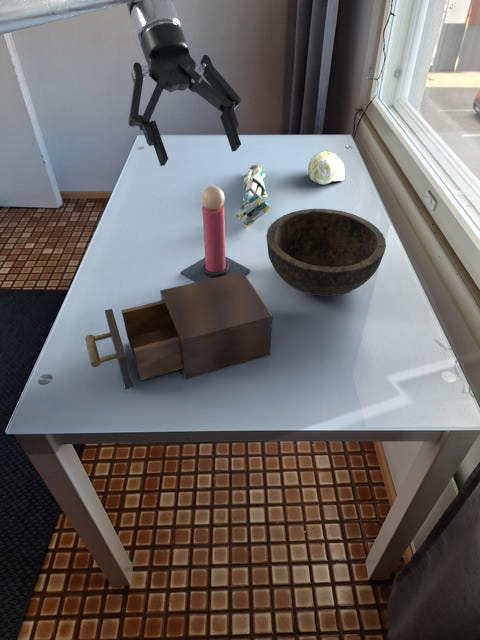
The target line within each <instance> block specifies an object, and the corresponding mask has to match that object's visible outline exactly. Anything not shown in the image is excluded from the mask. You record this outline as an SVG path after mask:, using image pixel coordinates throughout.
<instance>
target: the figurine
mask: <svg viewBox="0 0 480 640" xmlns="http://www.w3.org/2000/svg"><path fill="white" fill-rule="evenodd" d="M265 178H266V172H265V171H263V166H261V164H252V165H250V166H249V169H248V172H247V173H246V174H245V176H244V178H243V182H244V184H245V186H244V187H245V195H244V197H243V198H242V205H241V206H240V208H239V210H238V212H237V213H236V214H235V217H236V218H237V220H241V219H243V218H245V216H246V218H245V219H244V220H243V222H242V224H243V225H244V226H245V228H249V227H250V226H251V225H252V224H254V222H256V221H257V220H259V218H262V216H263V215H264V214H266V213H267V212H268V211H269V210H270V209H271V208H270V203H269V202H266V201H264V200H265V199H266V198H267V197H268V192H267V191H266V186H265V182H264V179H265Z"/></svg>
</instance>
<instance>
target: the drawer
mask: <svg viewBox="0 0 480 640" xmlns="http://www.w3.org/2000/svg"><path fill="white" fill-rule="evenodd" d="M104 314H105V318H106V322H107V326H108V330H109V332H105V333H102V334H98V335H93V334H87V335H86V336H85V338H84V339H85V340H84V341H85V345H86V348H87V353H88V358H89V363H90V367H92V368H99V366H101V364H102V363H106V362H110V361H113V360H117V363H118V367H119V371H120V375H121V378H122V382H123V386H124V390H129V389H132V388H134V385H133V380H132V375H131V371H130V366H129V362H128V359H127V354H126V351H125V347H124V344H123V341H122V338H121V334H120V330H119V327H118V324H117V321H116V317H115V314H114V310H113V308H109V309H105V310H104ZM121 316H122V320H123V324H124V328H125V333H126V338H127V342H128V346H129V348H130V351H131V354H132V357H133V361H134V364H135V367H136V370H137V373H138V377H139V380H140V381H143V380H147V379H150V378H153V377H154V378H155V377H157V376H161V375H164V374H167V373H172V372H176V371H178V370H182V368H184V367H183V358H182V350H181V341H180V338H179V336H178V334H177V331H176V329H175V327H174V324H173V322H172V320H171V317H170V315H169V313H168V310H167V308H166V306H165V303H164V301H163V300H162V301H161V300H157V301H154V302H149V303H146V304H141V305H138V306H133V307H130V308H125V309H121ZM110 338H111V342H112V347H113V349H114V353H113V354H112V353H111V354H109V355H105V356H101V357H100V354H99V350H98V346H97V342H99V341H101V340H105V339H110Z"/></svg>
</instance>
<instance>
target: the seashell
mask: <svg viewBox="0 0 480 640" xmlns="http://www.w3.org/2000/svg"><path fill="white" fill-rule="evenodd" d="M307 171H308V172H307V173H308V177H309V179H310V180H311V181H312V182H314V183H315V184H318V185H328V184H330V183H332V182H342V181H344V180H345V166H344V163H343V161H342V159H341V158H340V157H339V156H338V155H337V154H335V153H333V152H331V151H321V152H318V153H317V154H315V155H313V157H311V159H310V160H309V162H308V164H307Z"/></svg>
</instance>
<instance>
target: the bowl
mask: <svg viewBox="0 0 480 640" xmlns="http://www.w3.org/2000/svg"><path fill="white" fill-rule="evenodd" d="M265 237H266V245H267V253H268V259H269V262H270V263H271V265H272V267H273V269H274V271H275V272H276V274H277V275H278V276H279V277H280V278H281V279H282V281H283V282H285V283H286V284H287V285H288V286H290V287H292V288H293V289H294V290H295V289H296V290H297V291H299V292H303V293H306V294H309V295H313V296H320V297H333V296H339V295H344V294H347V293H351V292H352V291H354V290H357V289H358V288H360V287H361V286H363V285H364V284H365V283H367V282H368V281H369V280H370V279H371V278H372V277H373V275H374V274H376V272H377V270H378V269H379V267H380V264H381V262H382V260H383V258H384V255H385V251H386V248H387V243H386V239H385V236H384V234H383V233H382V231H381V230H380V229H379V227H377V226H376V225H374V224H373V223H372V222H370V221H369V220H367V219H366V218H364V217H361V216H359V215H356V214H354V213H352V212H351V213H350V212H346V211H344V210H338V209H331V208H307V209H300V210H296V211H292V212H289V213H286V214H284V215H282V216H280V217H278V218H277V219H275V220H274V221H273V222H272V223H271V224H270V226H269V227H268V229H267V231H266V235H265Z"/></svg>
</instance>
